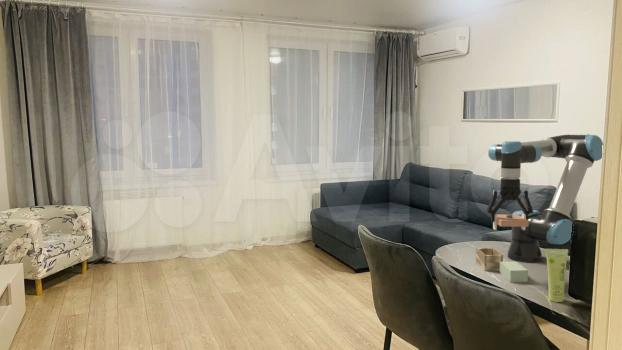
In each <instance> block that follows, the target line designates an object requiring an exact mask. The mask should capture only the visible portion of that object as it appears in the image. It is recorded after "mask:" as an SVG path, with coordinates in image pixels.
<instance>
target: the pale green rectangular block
mask: <svg viewBox="0 0 622 350" xmlns="http://www.w3.org/2000/svg"><path fill="white" fill-rule="evenodd" d="M528 273H529V270H528V269H527V268H526V267H525V266H523V265H522V264H520V263H519V262H518V261H516V260H513V261H503V262H500V271H499V274H500V275H502V276H503V278H505V280H507V281H508V282H509V283H528V282H529V279H528V277H529V276H528V275H529V274H528Z"/></svg>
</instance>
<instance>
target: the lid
mask: <svg viewBox="0 0 622 350" xmlns="http://www.w3.org/2000/svg"><path fill="white" fill-rule="evenodd" d="M495 214H496V215H497V226H499V227H505V228H506V227H509V228H510V227H511V228H512V227H528V225H529V220H527V219H525V218H523V217H521V216H519V215H517V214H513V213H512V214H509V213H507V214H503V213H502V214H499V213H498V214H497V213H495Z"/></svg>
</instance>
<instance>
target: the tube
mask: <svg viewBox="0 0 622 350" xmlns="http://www.w3.org/2000/svg"><path fill="white" fill-rule="evenodd" d="M544 250H545V256H546V264H547V281H548V283H547V284H548V287H547V288H548V300H549V301H551V302H555V303H562V302H564V299H565V285H566V284H565V283H566V282H565V281H566V272H567V271H566V270H567V261H568V254H569V249H568V248H566V249H564V248H561V249H560V248H545V249H544Z"/></svg>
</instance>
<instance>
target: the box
mask: <svg viewBox="0 0 622 350" xmlns="http://www.w3.org/2000/svg"><path fill="white" fill-rule="evenodd" d="M500 262H504V254H502V253H501V252H500V251H498V250H497V249H496V248H494V247H476V248H475V264H476V265H478V266H479V267H480V268H481V269H482V270H483V271H485V272H490V271H491V272H493V271H494V272H496V271H499V272H500Z"/></svg>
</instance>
